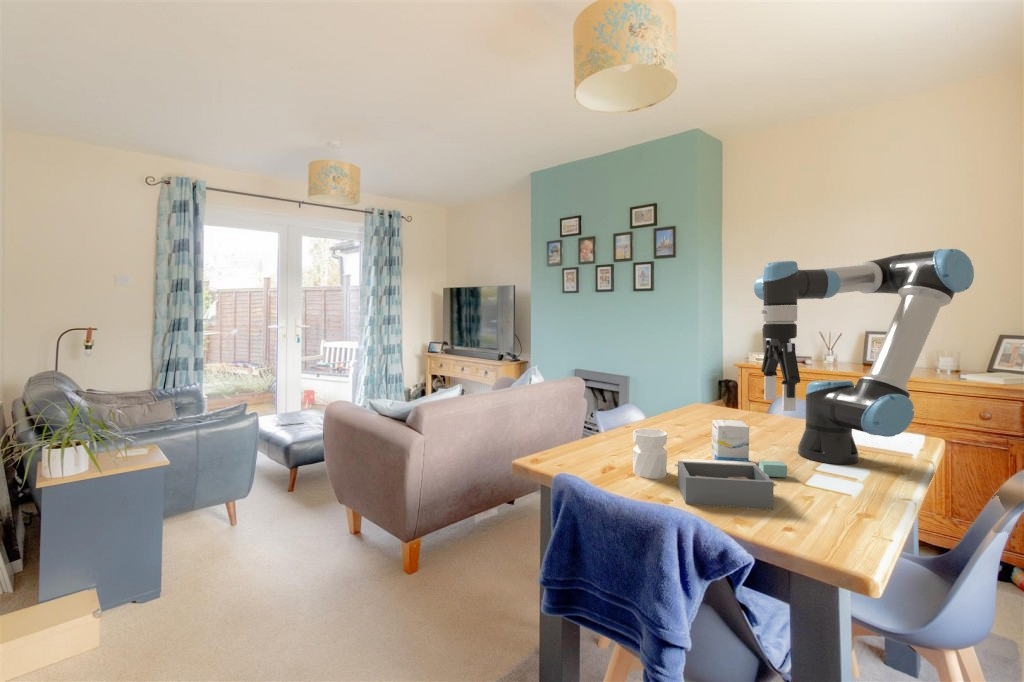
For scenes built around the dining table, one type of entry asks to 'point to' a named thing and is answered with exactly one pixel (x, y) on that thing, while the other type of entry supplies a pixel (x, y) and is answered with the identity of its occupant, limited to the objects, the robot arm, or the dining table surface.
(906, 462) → the dining table surface
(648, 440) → the white vase
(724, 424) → the ink box
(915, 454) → the dining table surface
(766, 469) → the cream flat block
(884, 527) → the dining table surface
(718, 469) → the tub
